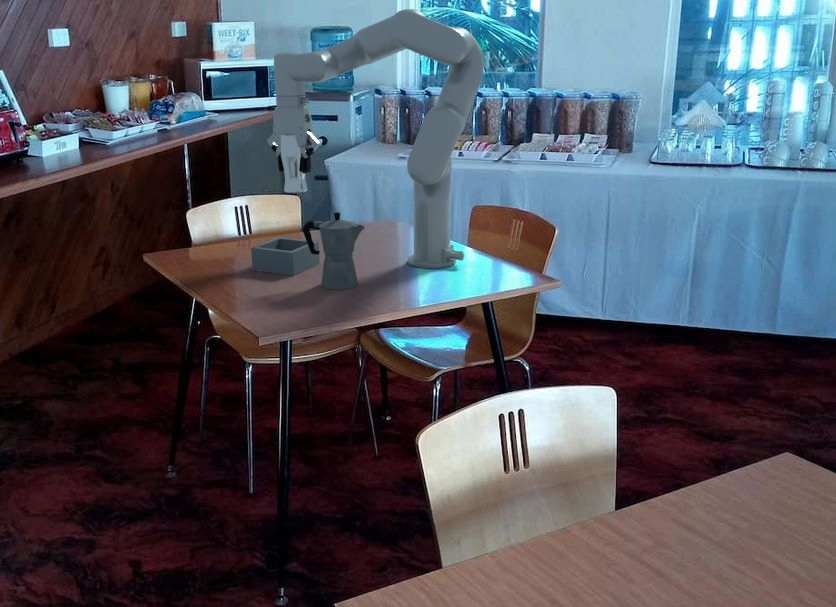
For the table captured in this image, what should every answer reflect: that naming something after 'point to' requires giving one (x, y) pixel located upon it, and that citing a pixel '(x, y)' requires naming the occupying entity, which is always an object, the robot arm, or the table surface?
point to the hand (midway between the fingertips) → (294, 171)
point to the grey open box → (284, 256)
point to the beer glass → (292, 164)
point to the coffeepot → (336, 251)
